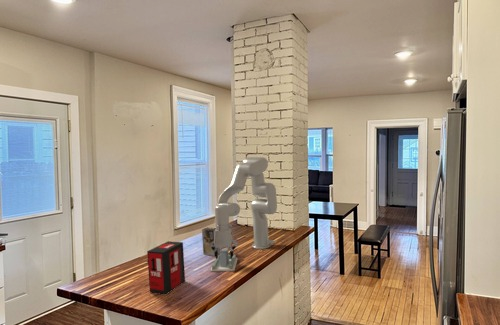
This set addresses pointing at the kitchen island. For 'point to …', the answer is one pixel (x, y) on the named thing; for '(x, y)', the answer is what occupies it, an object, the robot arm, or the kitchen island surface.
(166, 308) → the kitchen island surface
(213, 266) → the grey tray
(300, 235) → the kitchen island surface
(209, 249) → the coffee box
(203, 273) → the kitchen island surface
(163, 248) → the cleaning product box
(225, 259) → the pale grey cuboid block
